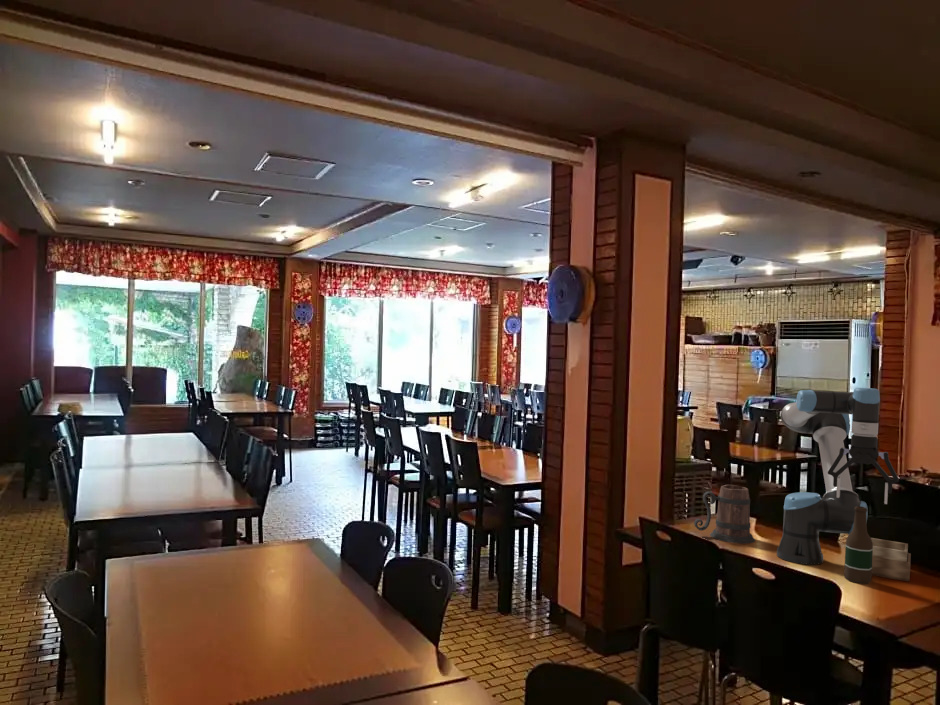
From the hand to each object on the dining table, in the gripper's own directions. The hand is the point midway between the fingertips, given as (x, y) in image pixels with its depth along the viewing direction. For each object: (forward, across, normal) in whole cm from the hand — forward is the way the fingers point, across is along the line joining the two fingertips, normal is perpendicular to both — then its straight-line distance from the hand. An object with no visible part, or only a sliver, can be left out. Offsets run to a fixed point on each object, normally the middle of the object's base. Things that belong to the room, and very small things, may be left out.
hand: (861, 500), depth 227 cm
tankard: (+26, -48, +27) cm, 61 cm away
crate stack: (+26, +7, +18) cm, 32 cm away
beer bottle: (+26, 0, 0) cm, 27 cm away
